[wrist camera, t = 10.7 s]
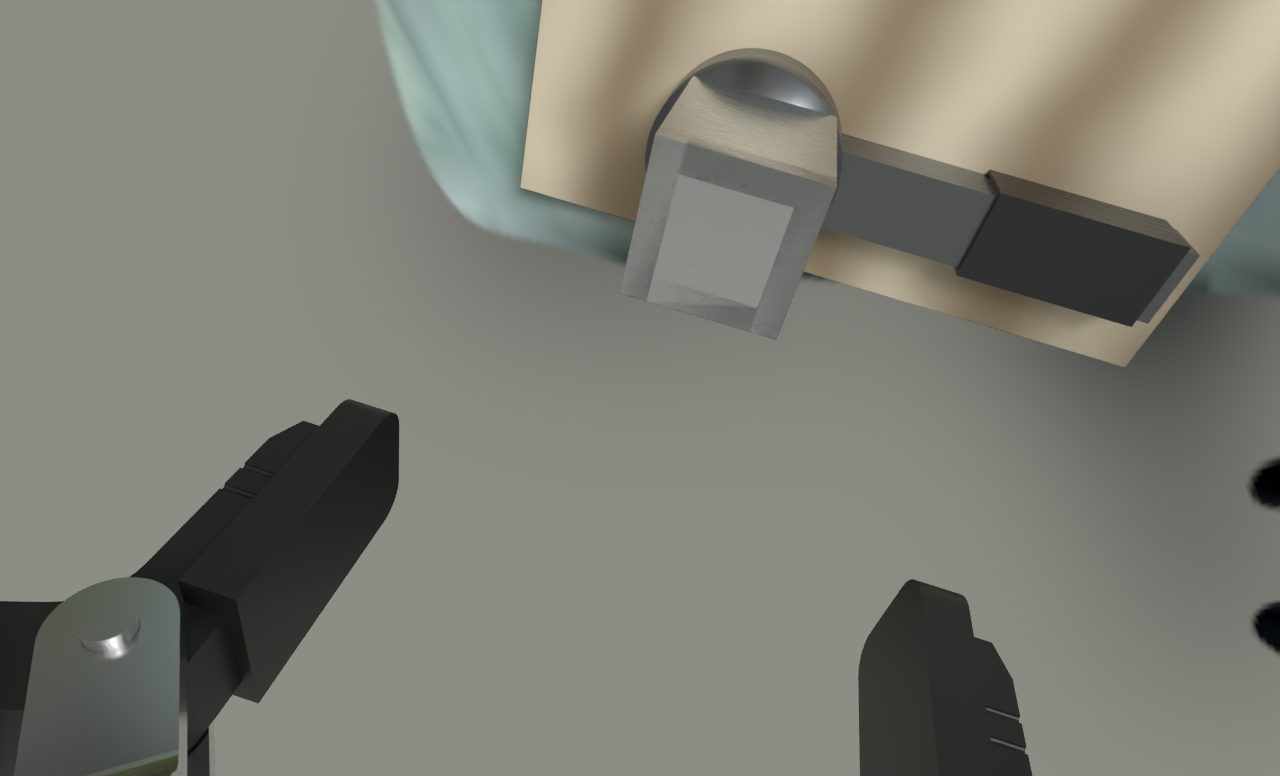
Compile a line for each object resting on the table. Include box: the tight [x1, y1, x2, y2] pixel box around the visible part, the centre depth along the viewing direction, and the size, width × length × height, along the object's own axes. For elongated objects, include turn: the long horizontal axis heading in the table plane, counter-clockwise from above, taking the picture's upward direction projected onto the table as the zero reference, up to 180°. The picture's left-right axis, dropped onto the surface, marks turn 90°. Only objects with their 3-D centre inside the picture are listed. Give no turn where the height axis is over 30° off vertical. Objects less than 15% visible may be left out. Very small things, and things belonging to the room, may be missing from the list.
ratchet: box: [645, 48, 1200, 327], centre depth 23 cm, size 18×6×7 cm, turn 77°
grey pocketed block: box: [620, 76, 837, 340], centre depth 22 cm, size 5×5×6 cm
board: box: [521, 0, 1280, 367], centre depth 24 cm, size 24×16×1 cm, turn 77°
